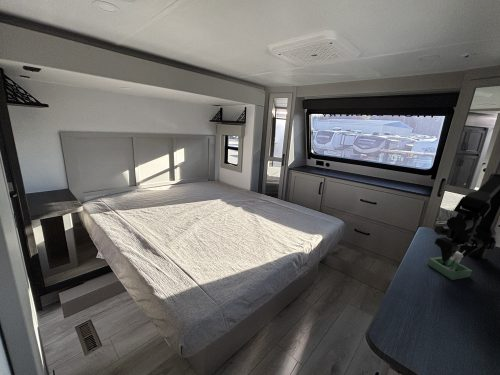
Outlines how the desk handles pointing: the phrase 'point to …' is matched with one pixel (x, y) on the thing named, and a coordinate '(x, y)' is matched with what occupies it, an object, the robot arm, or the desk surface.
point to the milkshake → (454, 261)
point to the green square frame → (460, 273)
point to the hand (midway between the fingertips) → (451, 260)
